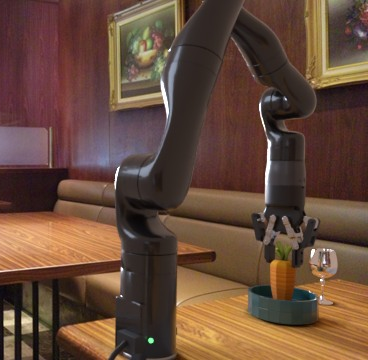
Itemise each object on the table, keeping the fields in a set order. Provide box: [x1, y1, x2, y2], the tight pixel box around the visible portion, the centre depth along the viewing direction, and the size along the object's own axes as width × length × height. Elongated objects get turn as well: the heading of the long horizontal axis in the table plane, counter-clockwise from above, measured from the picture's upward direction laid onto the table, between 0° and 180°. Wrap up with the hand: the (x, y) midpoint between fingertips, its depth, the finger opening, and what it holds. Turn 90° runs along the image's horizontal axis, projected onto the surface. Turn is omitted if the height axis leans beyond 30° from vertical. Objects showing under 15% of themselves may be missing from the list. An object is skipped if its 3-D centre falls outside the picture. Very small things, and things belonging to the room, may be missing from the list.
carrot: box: [269, 240, 297, 301], centre depth 102 cm, size 5×5×15 cm
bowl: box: [247, 284, 320, 326], centre depth 103 cm, size 13×13×5 cm
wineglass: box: [308, 247, 339, 306], centre depth 113 cm, size 6×6×12 cm
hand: (283, 264), depth 102 cm, fingers closed on carrot, 5 cm apart
